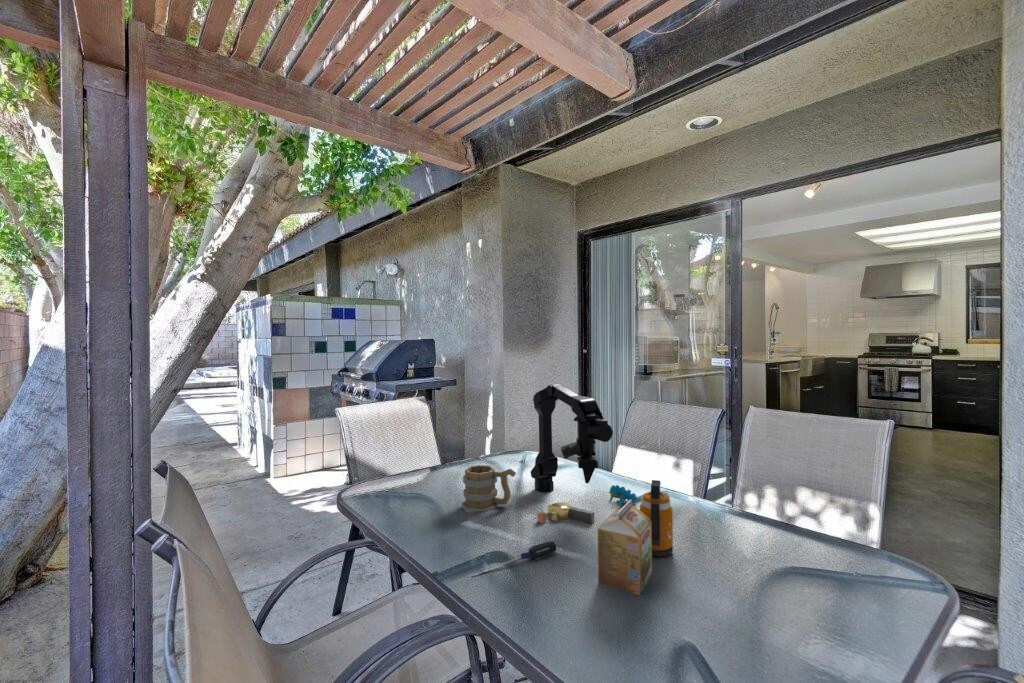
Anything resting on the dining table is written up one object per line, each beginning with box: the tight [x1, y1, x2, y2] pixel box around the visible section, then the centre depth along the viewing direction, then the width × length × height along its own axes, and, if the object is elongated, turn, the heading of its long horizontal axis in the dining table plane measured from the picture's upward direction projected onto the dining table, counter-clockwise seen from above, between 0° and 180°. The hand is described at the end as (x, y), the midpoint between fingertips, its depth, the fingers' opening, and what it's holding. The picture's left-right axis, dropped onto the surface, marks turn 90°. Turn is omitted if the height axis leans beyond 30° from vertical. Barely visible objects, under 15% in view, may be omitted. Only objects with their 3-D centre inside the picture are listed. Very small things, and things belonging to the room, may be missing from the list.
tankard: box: [461, 464, 517, 514], centre depth 168 cm, size 20×13×15 cm, turn 68°
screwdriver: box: [493, 540, 557, 567], centre depth 129 cm, size 26×4×4 cm, turn 117°
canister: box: [639, 479, 674, 557], centre depth 133 cm, size 9×11×20 cm
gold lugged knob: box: [547, 502, 595, 525], centre depth 156 cm, size 16×10×3 cm, turn 55°
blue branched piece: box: [608, 484, 638, 505], centre depth 170 cm, size 11×6×10 cm
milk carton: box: [597, 500, 653, 596], centre depth 120 cm, size 11×11×19 cm
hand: (586, 481), depth 159 cm, fingers open, 3 cm apart
